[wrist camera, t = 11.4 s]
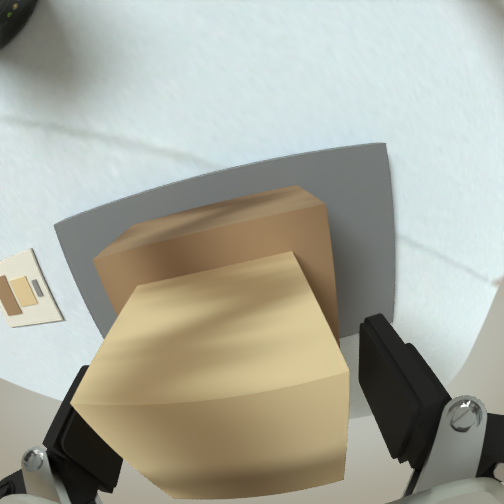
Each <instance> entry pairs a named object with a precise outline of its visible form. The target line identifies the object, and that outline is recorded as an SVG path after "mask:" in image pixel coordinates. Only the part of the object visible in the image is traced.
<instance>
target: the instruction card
mask: <svg viewBox="0 0 504 504" xmlns="http://www.w3.org/2000/svg"><path fill="white" fill-rule="evenodd" d="M0 310H1V312H2V314H3V315H4V317H5V319H6V321H7V323H8V325H9V327H16V326H23V325H31V324H38V323H45V322H52V321H59V320H63V317H62V315H61V313H60V311H59V309H58V307H57V305H56V303H55V301H54V299H53V297H52V295H51V293H50V291H49V289H48V287H47V284H46V282H45V280H44V278H43V275H42V273H41V271H40V268H39V266H38V263H37V261H36V258H35V256H34V253H33V250H32V248H30V249H28V250H25V251H23V252H20V253H18V254H15V255H13V256H11V257H8V258H6V259H3V260H1V261H0Z"/></svg>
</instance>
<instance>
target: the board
mask: <svg viewBox="0 0 504 504" xmlns="http://www.w3.org/2000/svg"><path fill="white" fill-rule="evenodd" d="M294 185H298V186H300V187H301V188H303V189H304V190H306V191H307V192H309V193H310V194H312V195H313V196H315V197H316V198H318V199H319V200H321V201H322V202H324V203H325V204H326V209H327V216H328V223H329V230H330V238H331V246H332V255H333V264H334V274H335V284H336V296H337V309H338V324H339V338H343V337H346V336H350V335H353V334H356V333H359V327H360V324H361V323H364V319H365V318H366V317H369V316H372V315H375V314H378V313H382V314H383V315H384V317H385V318H386V319H387V321H388V322H389V323H391V322H393V313H394V293H395V235H394V215H393V201H392V189H391V179H390V171H389V163H388V155H387V148H386V143H369V144H361V145H353V146H345V147H338V148H331V149H325V150H318V151H312V152H306V153H300V154H295V155H289V156H284V157H279V158H274V159H269V160H264V161H259V162H254V163H250V164H245V165H241V166H236V167H232V168H228V169H224V170H219V171H215V172H211V173H207V174H203V175H200V176H196V177H192V178H188V179H185V180H181V181H177V182H174V183H170V184H167V185H164V186H160V187H157V188H153V189H150V190H147V191H144V192H141V193H137V194H134V195H131V196H128V197H125V198H122V199H119V200H116V201H113V202H110V203H107V204H104V205H102V206H99V207H96V208H93V209H91V210H88V211H85V212H82V213H80V214H77V215H75V216H72V217H69V218H67V219H64V220H62V221H60V222H58V223H56V224H55V225H54V228H55V231H56V234H57V237H58V240H59V242H60V245H61V248H62V250H63V253H64V256H65V258H66V261H67V263H68V266H69V268H70V271H71V273H72V275H73V278H74V280H75V282H76V284H77V287H78V289H79V291H80V293H81V295H82V298H83V300H84V302H85V304H86V306H87V308H88V310H89V312H90V314H91V316H92V318H93V320H94V322H95V324H96V326H97V328H98V329H99V331H100V333H101V335H102V337H103V339H105V338H106V336H107V334H108V332H109V331H110V329H111V327H112V326H113V324H114V322H115V321H116V319H117V315H116V313H115V311H114V308H113V306H112V304H111V302H110V300H109V298H108V295H107V293H106V291H105V289H104V286H103V284H102V282H101V279H100V277H99V275H98V272H97V270H96V267H95V265H94V262H93V260H92V259H93V258H95V257H96V256H97V255H98V254H99V253H100V252H101V251H103V250H104V249H105V248H106V247H107V246H108V245H109V244H111V243H112V242H113V241H114V240H115V239H117V238H118V237H119V236H120V235H121V234H122V233H124V232H125V231H126V230H127V229H129V228H130V227H131V226H132V225H134V224H138V223H141V222H145V221H148V220H152V219H155V218H159V217H162V216H166V215H170V214H174V213H177V212H181V211H185V210H189V209H193V208H197V207H201V206H205V205H209V204H213V203H217V202H221V201H225V200H229V199H234V198H238V197H242V196H247V195H251V194H256V193H260V192H265V191H270V190H274V189H279V188H284V187H289V186H294Z"/></svg>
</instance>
